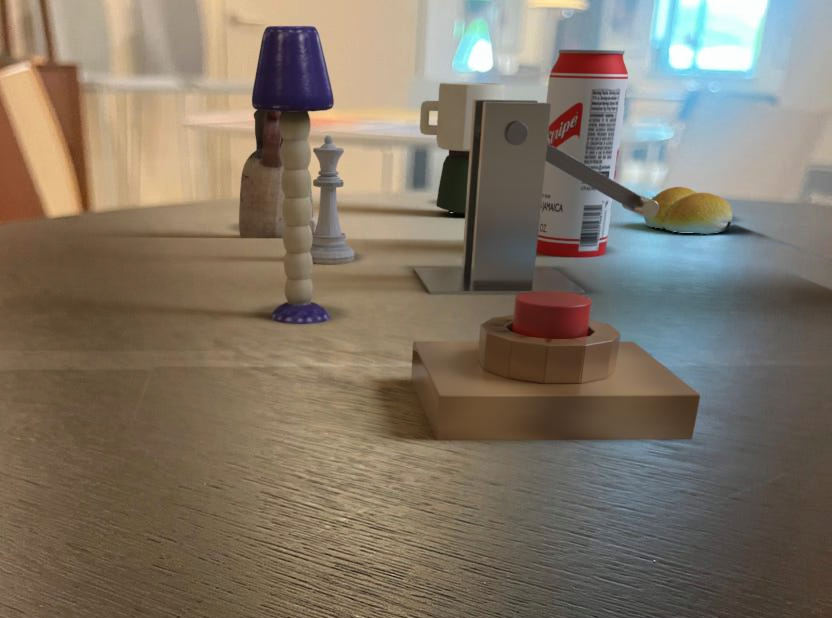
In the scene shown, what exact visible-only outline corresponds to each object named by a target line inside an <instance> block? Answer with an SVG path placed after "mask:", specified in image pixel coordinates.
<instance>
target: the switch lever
mask: <svg viewBox="0 0 832 618" xmlns="http://www.w3.org/2000/svg"><path fill="white" fill-rule="evenodd" d="M480 138H481V136H480ZM546 162H548V163H550V164H551V165H553V166H555V167H557V168H559V169H560V170H562V171H564V172H566V173H567V174H569V175H571V176H573V177H575V178H576V179H578V180H580V181H582V182H583V183H585V184H587V185H589V186H591V187H592V188H594V189H596V190H598V191H599V192H601V193H603V194H605V195H607V196H608V197H610V198H612V200H614V201H615V202H617V203H619V204H621V206H622V208H623V209H624V210H627V211H629V212H632V213H634V214H635V215H638V216H640V217H643V218H644V217H645V218H648V219H650V218H653V217H655V216H656V215H657V213H658V211H659V205H658V203H657V202H656V201H654V200H652V198H649V197H646V196H643V195H641V194H638V193H636V192H635V191H632V190H631V189H629V188H627V187H626V186H624V185H622V184H620V183H618V182H617V181H616V180H615V181H613V180H611V179H610V178H608V177H606V176H604V175H603V174H601V173H599V172H597V171H596V170H594V169H592V168H590V167H589V166H587V165H585V164H583V163H582V162H580V161H578V160H576V159H575V158H573V157H571V156H569V155H568V154H566V153H564V152H562V151H561V150H559V149H557V148H555V147H554V146H552V145H550V144H548V143H547V151H546Z"/></svg>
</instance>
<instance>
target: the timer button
mask: <svg viewBox="0 0 832 618" xmlns="http://www.w3.org/2000/svg"><path fill="white" fill-rule="evenodd" d="M591 308H592V300H591V298H589V297H587V296H585V295H578V294H573V293H566V292H556V291H534V292H525V293H521V294H519V295H516V296H515V298H514V306H513V315H514V316H513V326H512V332H514V333H517V334H520V335H524V336H528V337H536V338H544V339H575V338H581V337H587V333H588V325H589V319H591V318H590V317H591V310H592V309H591Z"/></svg>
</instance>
